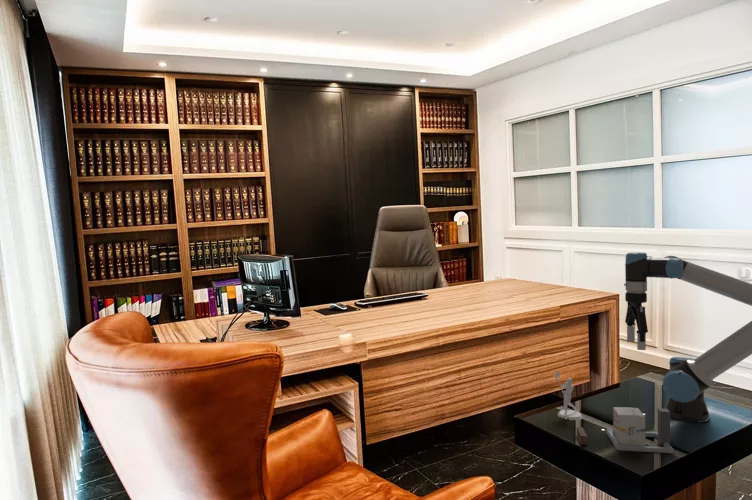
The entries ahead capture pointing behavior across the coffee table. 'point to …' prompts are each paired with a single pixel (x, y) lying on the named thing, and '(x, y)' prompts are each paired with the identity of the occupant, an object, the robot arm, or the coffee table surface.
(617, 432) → the ink box
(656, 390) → the coffee table surface
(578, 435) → the lane end block
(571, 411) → the figurine
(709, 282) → the robot arm
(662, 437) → the sled
